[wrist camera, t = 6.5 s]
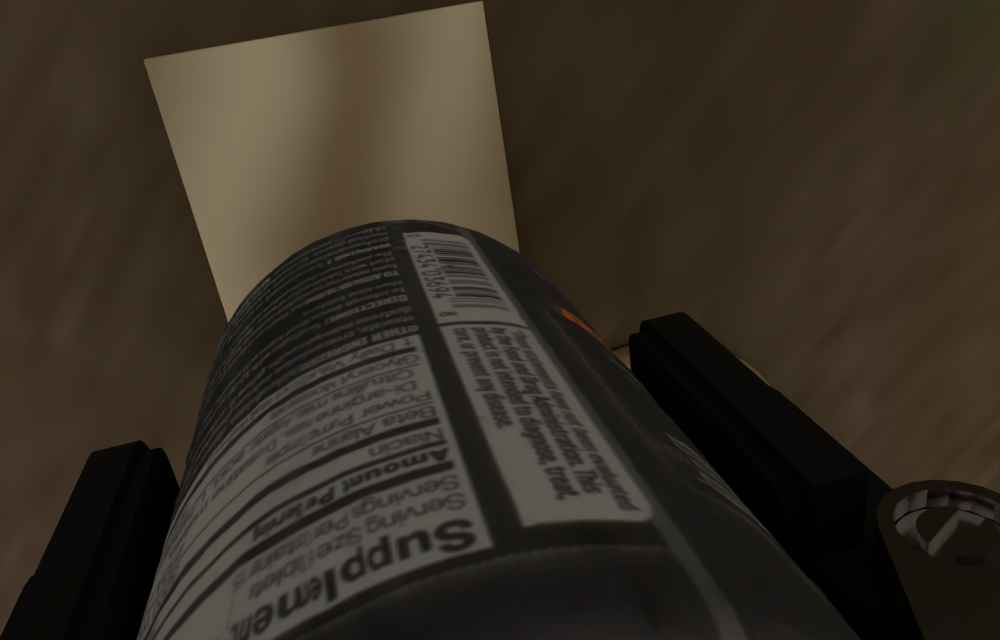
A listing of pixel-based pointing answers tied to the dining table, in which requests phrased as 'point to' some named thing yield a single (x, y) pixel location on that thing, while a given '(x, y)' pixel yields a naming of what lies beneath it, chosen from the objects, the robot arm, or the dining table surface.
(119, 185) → the dining table surface
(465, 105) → the coaster
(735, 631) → the pill bottle
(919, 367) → the dining table surface
